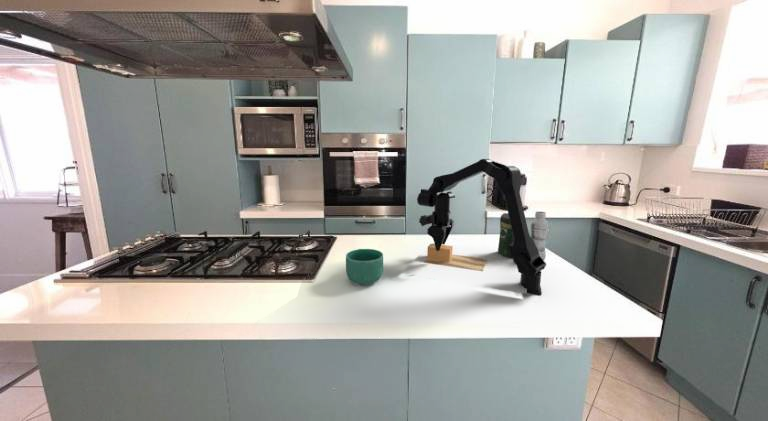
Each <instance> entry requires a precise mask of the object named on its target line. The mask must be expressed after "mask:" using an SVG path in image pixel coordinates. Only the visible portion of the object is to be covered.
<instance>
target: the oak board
mask: <svg viewBox="0 0 768 421" xmlns="http://www.w3.org/2000/svg"><path fill="white" fill-rule="evenodd" d="M487 260H488V259H487V258H482V257H475V256H468V255H467V256H466V255H460V254H459V255H458V254H453V253H452V259H451V261H450V262H446V261H439V260H432V259H427V258H426V259H424V261H423V263H424V264H432V265H438V266H444V267H452V268H458V269H465V270H473V271H478V272H479V271H480V272H483V271H484V269H485V266H486V263H487Z"/></svg>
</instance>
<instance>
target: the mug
mask: <svg viewBox="0 0 768 421" xmlns="http://www.w3.org/2000/svg"><path fill="white" fill-rule="evenodd" d="M345 272H346V277H347V278H348V280H349V281H350V282H352V283H354V284H357V285H358V284H360V286H370V284H371V285H373V284H374V283H377V282H378V281H379V280H380V279H381V278H382V277H383V273H384V254H383V252H382V251H380V250H378V249H373V248H358V249H353V250H351V251H349V252H347V253H346V254H345Z"/></svg>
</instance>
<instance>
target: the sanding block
mask: <svg viewBox="0 0 768 421" xmlns="http://www.w3.org/2000/svg"><path fill="white" fill-rule="evenodd" d="M426 253H427V256H426V259H432V260H439V261H446V262H450V261H451V259H452V254H453V245H446V244H442V245H441V247H440V250H439V251H436V248H435V244H434V243H430V244H429V245H428V246H427V252H426Z"/></svg>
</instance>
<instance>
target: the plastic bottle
mask: <svg viewBox="0 0 768 421" xmlns="http://www.w3.org/2000/svg"><path fill="white" fill-rule="evenodd" d="M534 213H535V214H534V217H535V218H534V219H533V220H532V221H531V223H530V237H531V239H532V240H533V241H534V243H535V245H536V247H537V249H538V252H539V256H540V257H541V258H542V259H543V260H544V261H545V259H546V255H547V254H546V239H547V234H548V232H549V227H550V226H549V223H548V221H547V219H546V217H547V212H545V211H535V212H534Z"/></svg>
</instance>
